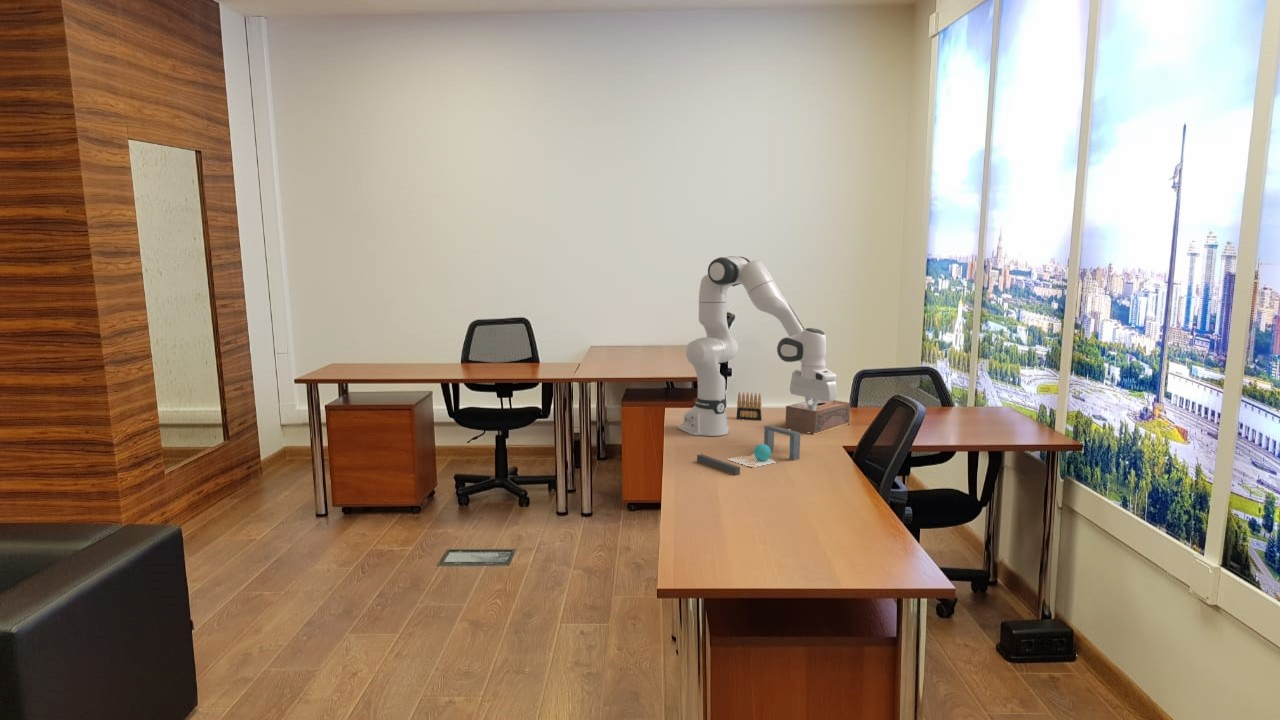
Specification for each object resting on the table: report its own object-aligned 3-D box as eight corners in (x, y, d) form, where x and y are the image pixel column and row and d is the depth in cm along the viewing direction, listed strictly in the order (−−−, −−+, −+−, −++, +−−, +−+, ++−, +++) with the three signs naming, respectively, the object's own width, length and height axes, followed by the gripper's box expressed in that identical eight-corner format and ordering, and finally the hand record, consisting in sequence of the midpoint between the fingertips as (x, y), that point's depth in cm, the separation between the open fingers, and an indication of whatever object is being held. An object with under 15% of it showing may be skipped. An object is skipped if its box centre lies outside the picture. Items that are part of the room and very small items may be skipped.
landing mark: (726, 459, 289) (726, 459, 289) (753, 454, 296) (753, 453, 296) (751, 468, 278) (751, 467, 278) (779, 462, 286) (779, 461, 286)
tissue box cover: (820, 420, 356) (820, 398, 354) (849, 425, 346) (850, 402, 344) (785, 429, 338) (786, 405, 336) (815, 435, 328) (816, 411, 326)
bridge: (793, 460, 288) (794, 433, 287) (763, 451, 300) (764, 425, 299) (799, 459, 290) (800, 432, 289) (769, 450, 302) (770, 424, 301)
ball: (761, 441, 291) (760, 458, 292) (750, 443, 287) (749, 460, 288) (775, 444, 287) (773, 461, 287) (764, 446, 283) (763, 463, 283)
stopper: (697, 461, 286) (697, 454, 285) (701, 461, 287) (701, 454, 286) (735, 475, 269) (735, 467, 269) (739, 474, 271) (739, 466, 270)
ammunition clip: (761, 419, 355) (762, 392, 353) (761, 420, 353) (761, 393, 352) (737, 418, 358) (737, 391, 356) (736, 419, 356) (737, 392, 354)
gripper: (786, 369, 306) (785, 406, 308) (828, 377, 290) (826, 415, 292) (798, 368, 310) (797, 404, 312) (840, 375, 293) (838, 413, 295)
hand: (811, 409), depth 302 cm, fingers closed
